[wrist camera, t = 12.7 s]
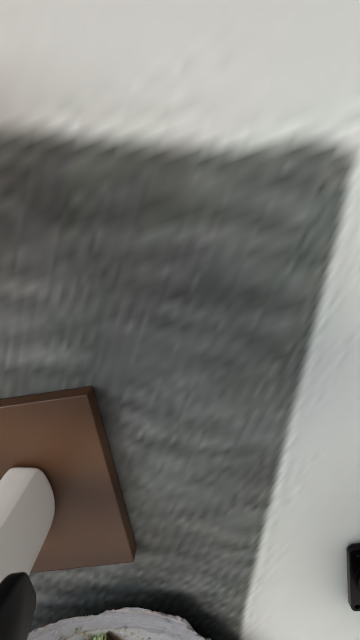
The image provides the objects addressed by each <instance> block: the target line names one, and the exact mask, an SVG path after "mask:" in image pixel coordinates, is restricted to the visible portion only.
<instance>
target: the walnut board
mask: <svg viewBox="0 0 360 640" xmlns="http://www.w3.org/2000/svg"><path fill="white" fill-rule="evenodd" d="M15 467H21V468H37V469H40V470H41V471H42V472H43V473H44V474H45V476H46V477H47V479H48V481H49V483H50V485H51V488H52V491H53V494H54V500H55V512H54V517H53V521H52V525H51V527H50V530H49V532H48V534H47V536H46V539H45V541H44V543H43V545H42V547H41V550H40V552H39V554H38V556H37V558H36V561H35V563H34V565H33V567H32V569H31V572H30V573H33V572H43V571H53V570H62V569H72V568H81V567H91V566H100V565H110V564H119V563H129V562H134V558H135V552H136V544H135V540H134V537H133V533H132V529H131V526H130V522H129V518H128V515H127V511H126V507H125V504H124V500H123V496H122V493H121V489H120V485H119V482H118V478H117V474H116V471H115V467H114V463H113V460H112V456H111V452H110V449H109V445H108V441H107V438H106V434H105V430H104V427H103V423H102V419H101V416H100V412H99V409H98V405H97V401H96V398H95V394H94V390H93V387H92V386H89V387H82V388H75V389H68V390H61V391H54V392H47V393H41V394H34V395H27V396H20V397H13V398H6V399H0V480H1V479H2V478H3V476H4V475H5V474H6V472H7V471H8V470H9V469H11V468H15Z"/></svg>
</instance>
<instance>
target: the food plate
mask: <svg viewBox="0 0 360 640" xmlns="http://www.w3.org/2000/svg"><path fill="white" fill-rule="evenodd" d="M57 621H58V622H57V623H54V624H49V625H46V626H44V627H43V628H40V627H39V629H38V628H37V630H36V629H35V630H36V631H34V630H33V631H32V632H31V633H29V634H28V638H27V640H211V639H210V638H207V639H205V638H204V637H202V636H200V635H199V634H197V633H196V632H195V631H194V630H193V629H192V627H191V626H190V624H189V623H188V622H187V621H186V619H182V618H181V617H179V616H178V617H177V616H174V615H173V616H172V615H166V614H165V613H164V614H162V612H159V613H158V612H156V611H153V612H152V611H150V610H148V609H143V608H129V607H124V608H122V609H120V610H114V609H113V610H110V611H107V610H106V611H105V612H104V613H101V614H99V615H97V616H95V615H91V616H87V617H86V616H85V617H82V616H81V617H72V618H70V619H62V620H60V621H59V620H57ZM187 626H188V627H189V628H190V629H191V630H190V629H188V627H187ZM192 630H193V631H192Z"/></svg>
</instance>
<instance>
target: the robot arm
mask: <svg viewBox="0 0 360 640" xmlns="http://www.w3.org/2000/svg"><path fill="white" fill-rule="evenodd" d="M347 571H348V599H349V604H350V606H351V609H352V610H354V611H360V544H352V545H350V546H348V548H347ZM35 606H36V593H35V591H34V588H33V586H32V583H31V581H30V578H29V576H28V574H27V573H26V572H17V573H11V574H9V575H8V576H6V577H5V578H4V579H3V580H2V581H1V582H0V640H27V638H28V634H29V630H30V626H31V622H32V618H33V614H34V610H35Z"/></svg>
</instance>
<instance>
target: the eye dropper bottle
mask: <svg viewBox="0 0 360 640" xmlns="http://www.w3.org/2000/svg"><path fill="white" fill-rule="evenodd" d="M54 512H55V500H54V494H53V491H52V488H51V485H50V483H49V481H48V479H47V477H46V476H45V474H44V473H43V472H42V471H41V470H40V469H37V468H21V467H15V468H11V469H9V470H8V471H7V472H6V474H5V475H4V476H3V478H2V479H1V480H0V582H1V581H2V580H3V579H4V578H5V577H6V576H8V575H9V574H11V573H17V572H26V573H27V574H28V576H29V574H30V572H31V569H32V567H33V565H34V563H35V561H36V558H37V556H38V554H39V552H40V550H41V547H42V545H43V543H44V541H45V539H46V536H47V534H48V532H49V530H50V527H51V525H52V521H53V517H54Z"/></svg>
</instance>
